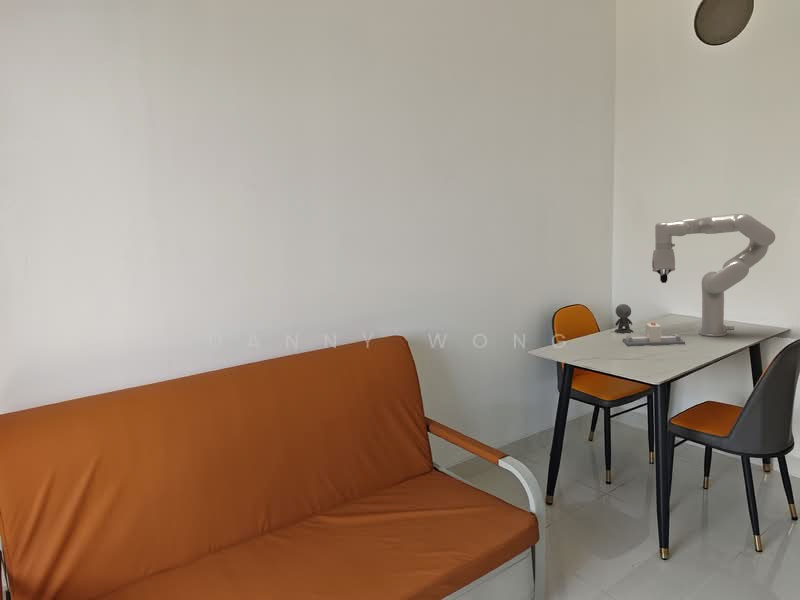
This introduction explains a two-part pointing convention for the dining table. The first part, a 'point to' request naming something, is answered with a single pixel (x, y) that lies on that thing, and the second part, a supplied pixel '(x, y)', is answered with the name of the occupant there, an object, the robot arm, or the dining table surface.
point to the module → (653, 332)
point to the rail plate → (645, 341)
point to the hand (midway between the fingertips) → (663, 282)
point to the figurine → (623, 319)
